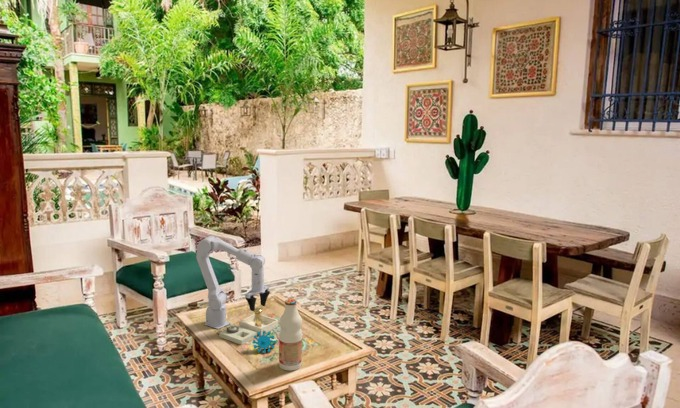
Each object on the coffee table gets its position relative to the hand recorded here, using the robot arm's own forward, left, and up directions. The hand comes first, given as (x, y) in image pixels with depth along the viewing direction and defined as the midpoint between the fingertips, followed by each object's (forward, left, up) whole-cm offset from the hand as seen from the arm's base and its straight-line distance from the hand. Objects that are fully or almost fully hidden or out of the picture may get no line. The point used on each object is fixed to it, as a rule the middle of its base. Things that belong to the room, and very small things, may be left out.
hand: (257, 308), depth 225 cm
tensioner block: (0, -13, -10) cm, 16 cm away
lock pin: (+1, 0, -9) cm, 9 cm away
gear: (+18, -15, -10) cm, 26 cm away
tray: (+1, 0, -10) cm, 10 cm away
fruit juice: (+36, -20, -10) cm, 42 cm away
